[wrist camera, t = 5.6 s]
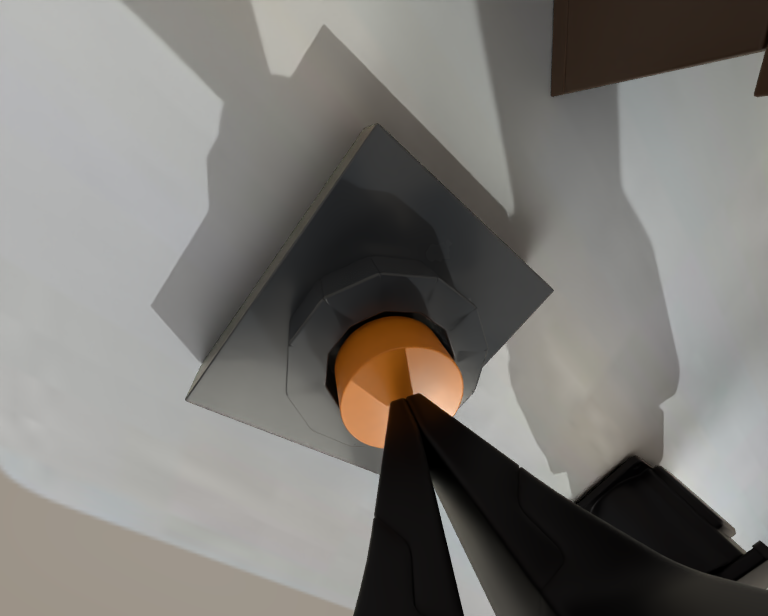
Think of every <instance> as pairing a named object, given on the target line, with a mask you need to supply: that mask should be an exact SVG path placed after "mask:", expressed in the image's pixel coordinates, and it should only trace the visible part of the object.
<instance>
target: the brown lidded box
mask: <svg viewBox="0 0 768 616" xmlns="http://www.w3.org/2000/svg"><path fill="white" fill-rule="evenodd" d="M767 44H768V0H554V20H553V50H552V81H551V96H552V97H554V96H559V95H563V94H568V93H573V92H577V91H582V90H587V89H591V88H596V87H600V86H605V85H610V84H614V83H619V82H624V81H628V80H633V79H638V78H642V77H647V76H652V75H656V74H661V73H665V72H670V71H675V70H679V69H684V68H689V67H693V66H698V65H703V64H707V63H712V62H717V61H721V60H726V59H730V58H735V57H740V56H744V55H749V54H754V53H758V52H763V51H766V47H767Z"/></svg>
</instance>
